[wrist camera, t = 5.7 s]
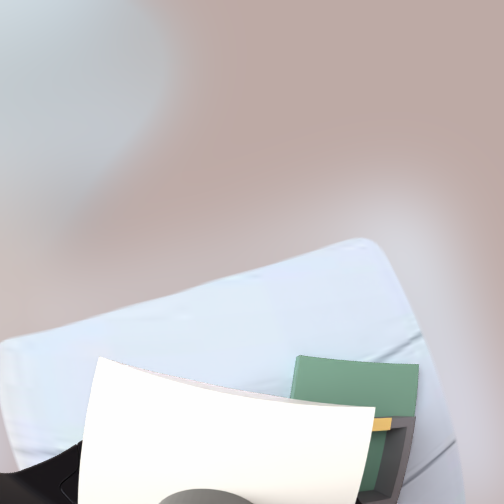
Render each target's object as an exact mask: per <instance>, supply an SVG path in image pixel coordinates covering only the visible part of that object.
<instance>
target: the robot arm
mask: <svg viewBox="0 0 504 504" xmlns="http://www.w3.org/2000/svg"><path fill="white" fill-rule="evenodd" d="M82 442H83V440H82V441H80V442H79V443H78V444H75V445H74V446H72V447H71V448H69V449H68V450H66V451H64V452H62V453H61V454H59V455H57V456H55V457H53V458H51V459H49V460H46V461H44V462H42V463H39V464H37V465H34V466H32V467H29V468H26V469H24V470H21V471H18V472H14V473H0V504H78V486H79V471H80V460H81V451H82ZM355 504H362V503H361V501H360V500H359V498H358V497H357V498H356V502H355Z"/></svg>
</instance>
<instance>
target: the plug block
mask: <svg viewBox="0 0 504 504" xmlns="http://www.w3.org/2000/svg"><path fill="white" fill-rule="evenodd" d="M374 414H375V407H363V406H349V405H337V404H328V403H319V402H311V401H304V400H297V399H291V398H285V397H279V396H273V395H268V394H261V393H254V392H248V391H243V390H237V389H232V388H226V387H222V386H217V385H212V384H208V383H203V382H199V381H195V380H190V379H185V378H180V377H175V376H170V375H166V374H161V373H157V372H153V371H149V370H145V369H141V368H137V367H133V366H130V365H126V364H123V363H119V362H116V361H112V360H109V359H106V358H103V357H100V356H99V359H98V363H97V367H96V372H95V376H94V380H93V385H92V390H91V394H90V399H89V405H88V410H87V416H86V422H85V428H84V435H83V442H82V451H81V460H80V471H79V486H78V504H355V502H356V498H357V495H358V491H359V488H360V484H361V480H362V476H363V472H364V468H365V463H366V459H367V454H368V449H369V444H370V439H371V433H372V427H373V421H374Z"/></svg>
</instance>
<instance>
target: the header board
mask: <svg viewBox="0 0 504 504" xmlns="http://www.w3.org/2000/svg"><path fill="white" fill-rule="evenodd" d="M418 371H419V364H390V363H372V362H358V361H346V360H336V359H326V358H318V357H309V356H302V355H299V356H297V357H296V363H295V370H294V376H293V383H292V389H291V395H290V398H291V399H297V400H304V401H311V402H319V403H328V404H337V405H349V406H363V407H375V414H374V421H373V427H372V433H371V439H370V444H369V449H368V454H367V459H366V463H365V468H364V472H363V476H362V480H361V484H360V488H359V491H358V495H357V497H358V498H359V500H360V501H361V503H362V504H396V503H397V500H398V497H399V494H400V490H401V487H402V483H403V480H404V476H405V472H406V468H407V463H408V459H409V454H410V449H411V444H412V438H413V433H414V426H415V419H416V417H414V414H415V406H416V397H417V386H418Z"/></svg>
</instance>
